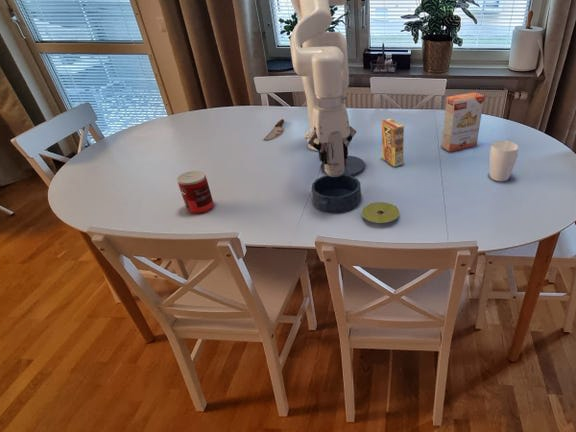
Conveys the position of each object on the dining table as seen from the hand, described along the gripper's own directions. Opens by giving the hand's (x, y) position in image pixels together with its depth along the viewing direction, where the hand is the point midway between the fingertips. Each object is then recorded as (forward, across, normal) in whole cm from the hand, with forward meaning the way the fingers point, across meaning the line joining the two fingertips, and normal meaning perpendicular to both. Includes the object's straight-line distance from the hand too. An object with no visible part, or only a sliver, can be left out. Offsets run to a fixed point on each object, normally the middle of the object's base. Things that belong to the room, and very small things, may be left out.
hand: (334, 159), depth 118 cm
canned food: (+14, +38, -18) cm, 45 cm away
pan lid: (+14, -12, -19) cm, 26 cm away
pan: (+14, 0, 0) cm, 14 cm away
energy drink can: (+5, 0, 0) cm, 5 cm away
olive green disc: (+15, -7, +16) cm, 22 cm away
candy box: (+14, -30, -14) cm, 36 cm away
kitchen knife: (+14, -3, -66) cm, 68 cm away
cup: (+14, -56, +16) cm, 60 cm away
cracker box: (+14, -61, -11) cm, 63 cm away
